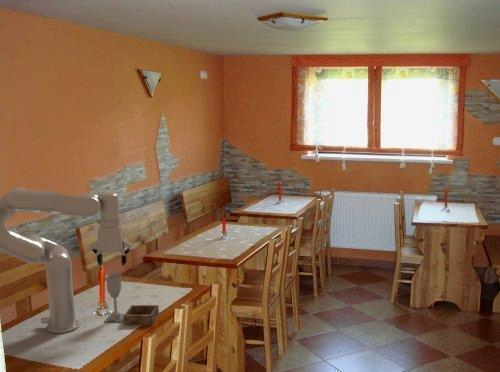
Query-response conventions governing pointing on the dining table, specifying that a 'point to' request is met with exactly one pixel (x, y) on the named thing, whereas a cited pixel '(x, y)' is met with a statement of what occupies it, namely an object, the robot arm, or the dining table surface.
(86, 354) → the dining table surface
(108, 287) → the chalice
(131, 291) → the dining table surface
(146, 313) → the wooden tray
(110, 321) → the mat
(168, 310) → the dining table surface
